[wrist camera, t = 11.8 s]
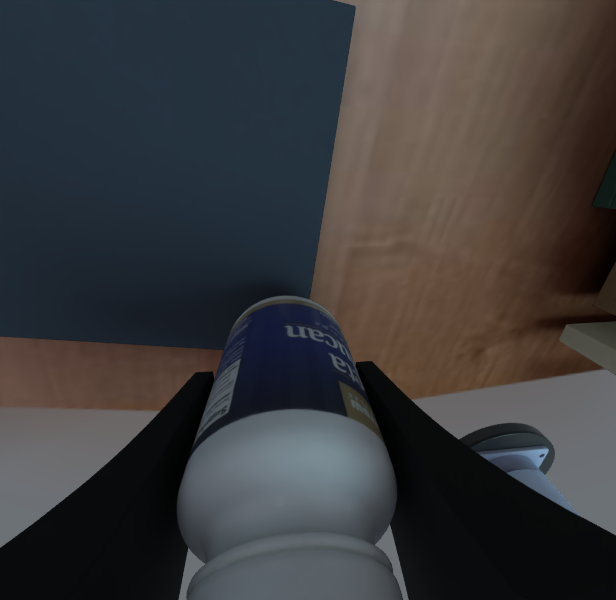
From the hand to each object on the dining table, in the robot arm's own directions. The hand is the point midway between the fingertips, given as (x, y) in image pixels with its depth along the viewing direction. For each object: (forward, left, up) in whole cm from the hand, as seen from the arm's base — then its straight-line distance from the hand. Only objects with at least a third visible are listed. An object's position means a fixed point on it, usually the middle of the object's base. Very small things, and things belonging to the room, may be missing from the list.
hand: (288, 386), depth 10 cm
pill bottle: (0, 0, -3) cm, 3 cm away
